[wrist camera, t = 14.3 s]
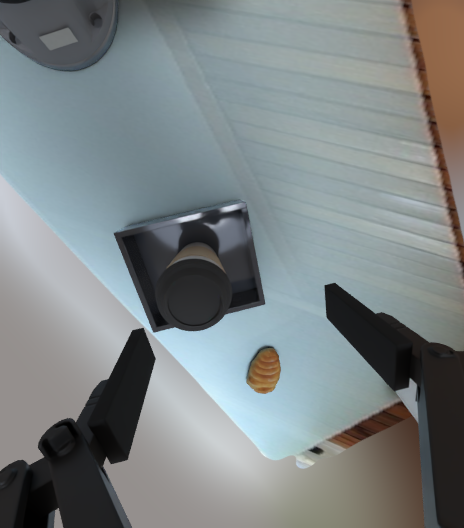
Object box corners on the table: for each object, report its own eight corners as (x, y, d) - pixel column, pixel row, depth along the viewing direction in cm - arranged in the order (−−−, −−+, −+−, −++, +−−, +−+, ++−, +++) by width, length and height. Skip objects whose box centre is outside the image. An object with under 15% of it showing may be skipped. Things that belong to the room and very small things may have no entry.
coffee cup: (163, 277, 39) (140, 328, 25) (179, 227, 37) (164, 254, 23) (213, 292, 41) (217, 348, 27) (231, 246, 39) (247, 281, 25)
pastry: (252, 344, 47) (256, 357, 44) (283, 346, 48) (290, 359, 45) (244, 380, 50) (248, 396, 47) (274, 381, 51) (279, 396, 48)
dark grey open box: (127, 225, 37) (113, 233, 31) (239, 199, 38) (245, 201, 32) (160, 313, 43) (153, 332, 37) (257, 288, 43) (265, 304, 38)
